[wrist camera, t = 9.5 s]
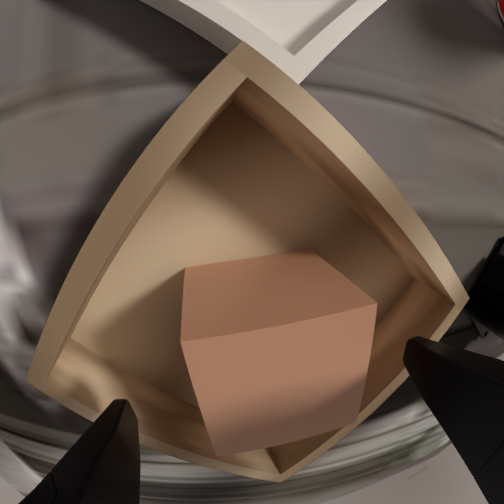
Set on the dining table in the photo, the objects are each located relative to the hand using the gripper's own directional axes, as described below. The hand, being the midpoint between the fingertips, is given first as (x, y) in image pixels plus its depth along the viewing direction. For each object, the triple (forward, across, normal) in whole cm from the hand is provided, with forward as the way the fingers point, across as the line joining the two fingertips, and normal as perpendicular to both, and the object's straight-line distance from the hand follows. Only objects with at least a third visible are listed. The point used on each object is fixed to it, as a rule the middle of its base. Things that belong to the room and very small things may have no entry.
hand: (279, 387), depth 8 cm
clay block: (+5, 0, 0) cm, 5 cm away
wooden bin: (+5, 0, 0) cm, 5 cm away
